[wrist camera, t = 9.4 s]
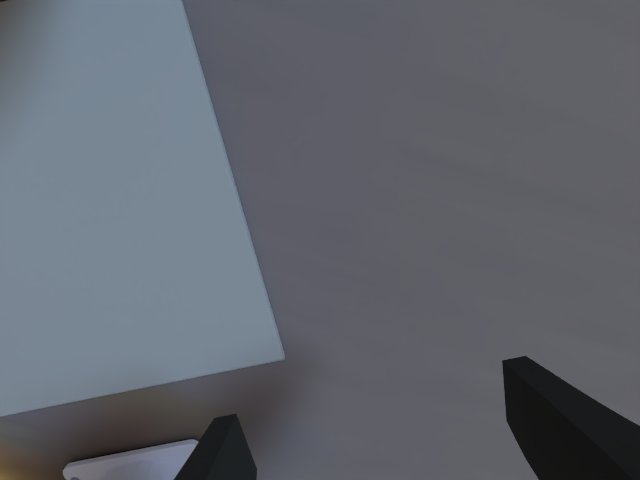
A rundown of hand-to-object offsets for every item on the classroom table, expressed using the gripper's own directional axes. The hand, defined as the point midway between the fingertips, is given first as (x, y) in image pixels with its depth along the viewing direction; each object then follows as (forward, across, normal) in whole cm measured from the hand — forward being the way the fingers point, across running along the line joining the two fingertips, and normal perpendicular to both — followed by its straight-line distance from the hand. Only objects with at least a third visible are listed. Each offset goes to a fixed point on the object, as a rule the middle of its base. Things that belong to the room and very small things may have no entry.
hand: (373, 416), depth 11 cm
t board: (+9, +19, -5) cm, 22 cm away
